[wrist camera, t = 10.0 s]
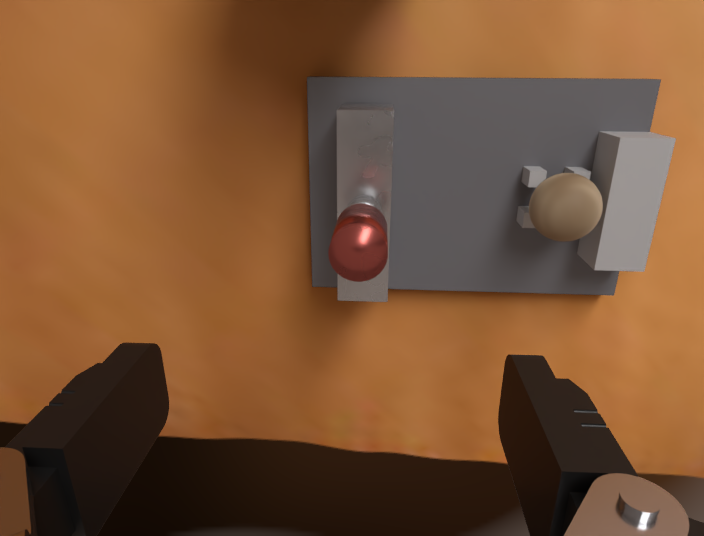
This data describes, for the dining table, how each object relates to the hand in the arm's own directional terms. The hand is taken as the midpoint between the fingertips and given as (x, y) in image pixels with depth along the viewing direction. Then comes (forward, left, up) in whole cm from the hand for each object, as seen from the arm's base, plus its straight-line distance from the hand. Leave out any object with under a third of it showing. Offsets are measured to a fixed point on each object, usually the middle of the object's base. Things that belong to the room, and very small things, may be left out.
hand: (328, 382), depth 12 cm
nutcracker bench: (-7, +1, -24) cm, 25 cm away
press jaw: (0, +1, -23) cm, 23 cm away
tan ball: (-12, +1, -20) cm, 23 cm away
